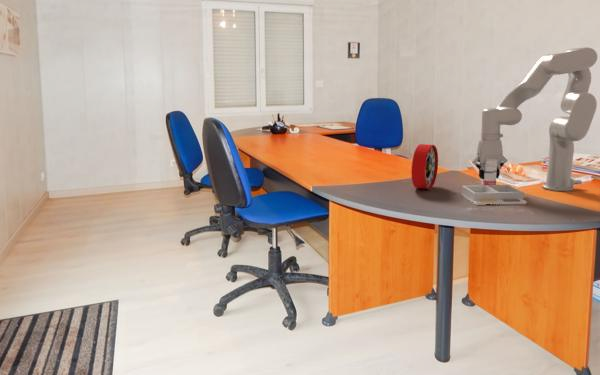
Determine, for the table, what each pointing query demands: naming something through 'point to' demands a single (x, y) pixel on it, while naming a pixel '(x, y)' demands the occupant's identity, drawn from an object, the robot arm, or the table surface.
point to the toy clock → (424, 166)
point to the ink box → (490, 172)
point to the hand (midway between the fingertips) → (489, 177)
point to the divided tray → (493, 194)
